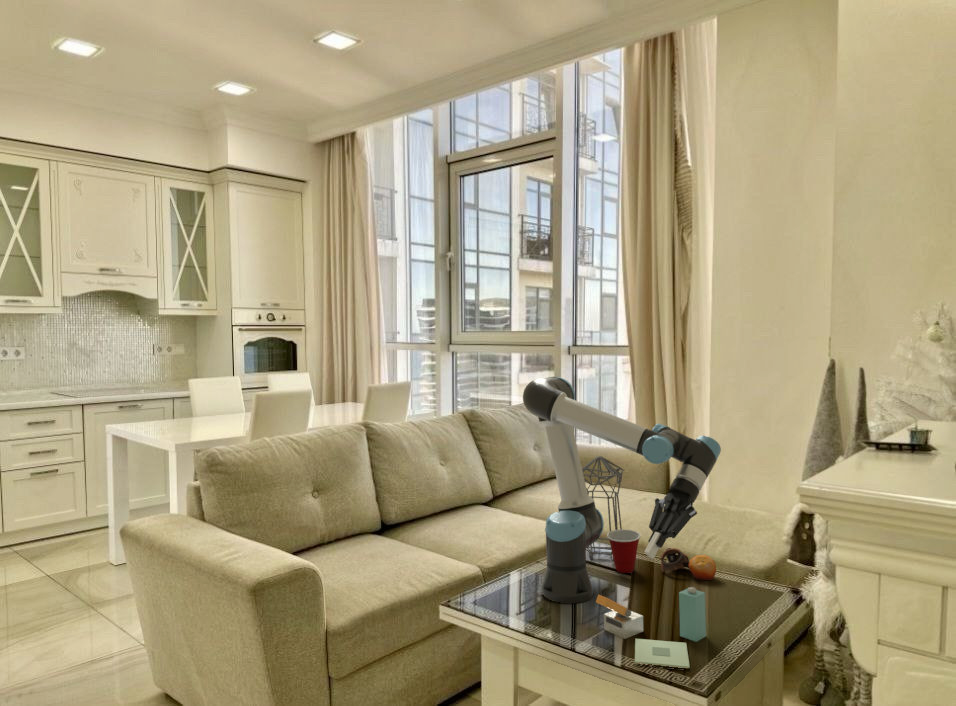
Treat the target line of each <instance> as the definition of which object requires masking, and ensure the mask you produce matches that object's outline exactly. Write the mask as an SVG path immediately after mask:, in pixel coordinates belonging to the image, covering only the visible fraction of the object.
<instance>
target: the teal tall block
mask: <svg viewBox="0 0 956 706" xmlns="http://www.w3.org/2000/svg"><path fill="white" fill-rule="evenodd" d="M678 604H679V605H678V607H679V637H682V638H684V639H688V640H689V641H692V642H697V643H698V642H699V641H701V640H702V639H704V638H706V636H707V630H706V628H707V624H706V622H707V620H706V592H705V591H700V590H698V589H697V587H694V586H689V587H687V588H686V589H683V590H681V591H679V592H678Z"/></svg>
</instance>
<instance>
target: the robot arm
mask: <svg viewBox="0 0 956 706" xmlns="http://www.w3.org/2000/svg"><path fill="white" fill-rule="evenodd" d="M522 402H523V404H524V407H525V409H526V410H527V411H528V412H529V413H530V414H532V415H534V416H536V417H538V422H539V424H541V425H542V426H544V428H545V433H546V437H547V440H548V441H547V442H548V446H549V451H550V455H551V459H552V464H553V469H554V473H555V477H556V482H557V487H558V491H559V495H560V502H559V504H558V505H557V509H558V512H557V511H556V512H553V513H550V514H549V515H548V516H547V518H546V520H545V529H544V530H545V531H544V532H545V549H546V552H545V554H546V569H545V572H544V576H543V579H542V582H541V586H540V587H541V588H540V589H541V590H540V591H541V592H542V593H541V592H540V593H541V595H542V594H543V595H544V596H546V597H547V598H549V599H551V600H554V601H557V602H556V603H558V602H561V603H560V604H578V603H579V604H580V603H583V602H586V601H589V600H590V599H592V598H593V596H594V594H593V593H594V591H593V590H594V589H593V588H594V587H593V585H592V582H591V581H592V580H591V579H590V576H589V573H588V569H587V551H586V549H587V548H588V547H589V546H590V545H593V543H594V544H595V543H596V542H597V541H598V540H599V539H598V538H601V535H602V533H603V531H604V526H605V524H604V518H603V515H602V513H601V511H600V510H599V509H597V507H596V503H595V498H593V499H592V498H591V497H589V496H590V495H589V496H588V493H587V489H588V488H587V485H586V481H585V480H584V478H585V476H584V475H583V474H584V472H583V471H582V468H583V466H582V461H581V458H580V454H579V449H578V445H577V441H576V436H575V431H574V428H575V429H577V430H579V431H582V432H585V433H587V434H589V435H592V436H594V437H597V438H599V439H602V440H604V441H606V442H609V443H611V444H613V445H617V446H619V447H621V448H624V449H626V450H629V451H630V452H633V453H636V454H639V455H640V456H642V457H644V458H645V460H646V461H648V462H649V463H651V464H653V465H654V464H655V465H659V464H663V463H666V462H668V461H669V460H670V459H671V458H672V459H675V460H676V461H678V462H681V463H682V465H681V466H680V468H679V470H678V472H677V474H676V475H675V478H674V479H673V480H672V482H671V484H670V485H669V489H668V493H667V494H666V495H664V498H661V499H659V498H657V497H656V498H655V499H654V507H653V511H652V515H651V518H650V521H649V525H648V528H649V529H650V530H651V531H652V533H651V535H650V537H649V539H648V541H647V542H648V544H647V546H646V547H645V550H644V551H643V552H644V553H645V555H646V556H647V558H650V559H652V560H654V558H656V555H657V553H658V551H659V550H660V549H661V548H662V547H664V544H665V543H666V541H667V539H669V538H671V539H675V538H676V537H677V536H678V535H679V533H680V532H681V531H682V530H683V528H684V527H685V526H686V525H687V524H688V523H689V522H690V520H691V519H692V518H693V517H695V516H697V514H698V512H697V510H696V509H695V507H694V505H693V503H695V501H696V500H697V497H698V496H699V494H700V492H701V490H702V488H703V486H704V484H705V483H706V480H707V479H708V477H709V475H710V473H711V471H712V470H713V468H714V466H715V465H716V463H717V461H718V458H719V456H720V454H721V452H722V447H721V445H720V443H719V442H718V441H717V440H716V439H714V438H712V437H710V436H706V435H700V436H698V437H697V438H695V439H694V438H692V437H689V436H687V435H685V434H683V433H681V432H679V431H677V430H675V429H672V428H671V427H670V426H668V425H667V426H666V425H665V424H661V423H656V424H655V425H654V426H653V427H652V429H648V428H647V427H644V426H641V425H639V424H636V423H633V422H631V421H629V420H627V419H624V418H621V417H619V416H616V415H613V414H611V413H609V412H606V411H603V410H600V409H599V408H595V407H593V406H591V405H589V404H585V403H583V402H580V401H578V400H576V392H575V389H574V387H573V385H572V384H571V383H570V382H569V381H568V380H566V379H565V378H563V377H559V376H548V377H543V378H542V377H541V378H540V377H539V378H536V379H533V380H531V381H530V382H528V383H527V385H526V386H525V388H524V389H523V392H522ZM586 488H587V489H586ZM588 549H589V548H588Z"/></svg>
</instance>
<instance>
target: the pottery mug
mask: <svg viewBox="0 0 956 706" xmlns="http://www.w3.org/2000/svg"><path fill="white" fill-rule="evenodd" d="M665 558H666V559H667V561H668V562H667V561H665V560H664V559H665ZM660 561H661V562H660V570H661V572H662V573H663V574H664V573H665V571H666V572H673V571H677V570H679V569H684V570H685V569H686V568H687V569H689V570H690V568H689V562H690V560H689V556H688V555H687V554H686V553H684V552H682V551H681V550H680V549H679V548H671V547H668V548H666V550H665V551H664V552H662V554H661V556H660ZM690 572H691V570H690Z"/></svg>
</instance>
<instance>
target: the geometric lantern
mask: <svg viewBox="0 0 956 706" xmlns="http://www.w3.org/2000/svg"><path fill="white" fill-rule="evenodd" d="M601 463H602V464H603V466H604V467H605V470H602V464H601ZM593 464H594V465H593ZM592 465H593V467H592V468H590V466H592ZM596 465H597V469H595V468H596ZM582 471H583V475H584V480H585V483H587V484H589V486H588V487H586V489H587V493H588V496H589V497H591V498H592V499H596V498H597V499H607V511H608V512H607V513H608V524H609V525H608V527H609V532H611V531H612V526H611V524H612V522H611V508H610V499H612V508H613V519H614V521H613V522H614V530H622V529H623V527H622V520H621V519H622V518H621V511H620V509H621V508H620V500H619V499H620V498H619V493H620V489H621V483H622V482H623V481H622V479H623V474H624V471H625V469H624V468H622V467H621V466H618V465H617V464H615V463H614V462H612V461H610V460H608V459H607V458H605V457H603V456H602V455H601V456H600V455H599V456H595V457H594V458H593V459H592V460H591V461H590V462H588V463H587V464H585V465H584V466H582ZM585 471H587V472H590V474H584V472H585ZM619 471H620V472H619ZM595 472H597V474H596V473H595ZM604 473H605V474H606V473H607V474H608V475H603V474H604ZM585 477H588V478H589V480H590V481H589V480H588V479H586V478H585ZM592 477H593V478H594V477H595V478H597V482H596V483H593V481H592ZM614 477H616V482H615V483H614V487H612V485H611V483H610V482H609V480H611V479H613V478H614ZM600 480H602V481H600ZM605 482H607V483H608V484H609V486H610V488H611V489H612V490H611V491H610V490H607V491H606V489H605V488H604V486H603V485H602V484H603V483H605ZM617 484H618V489H617V491H615V488H616V485H617ZM590 486H594V487H593V488H592V490H589V488H590ZM597 486H600V487H601V488H602V490H596V488H597ZM595 492H596V493H604V494H605V495H606V496H607V497H606V496H594V493H595ZM590 493H591V495H590ZM608 493H611V495H609V494H608ZM613 494H614V496H613ZM618 520H619V521H618ZM618 522H619V529H618ZM597 540H603V541H604V540H605V541H606V540H607V541H609V538H608V537H599V538H598V539H597ZM596 549H597V550H608V551H609V552H608V551H600V552H601V553H597V552H599V551H596ZM586 552H588V553H589V558H592V559H594V555H595V554H596V555H609V556H610V560H613V561H614V559H613V554H612V549H611V546H595V542H594V543H592V544H591V545H590V546H589V547H588V548H586ZM591 554H592V555H591ZM592 559H591V560H592ZM597 559H598V560H597V561H606V560H609V559H605V558H597Z"/></svg>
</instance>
